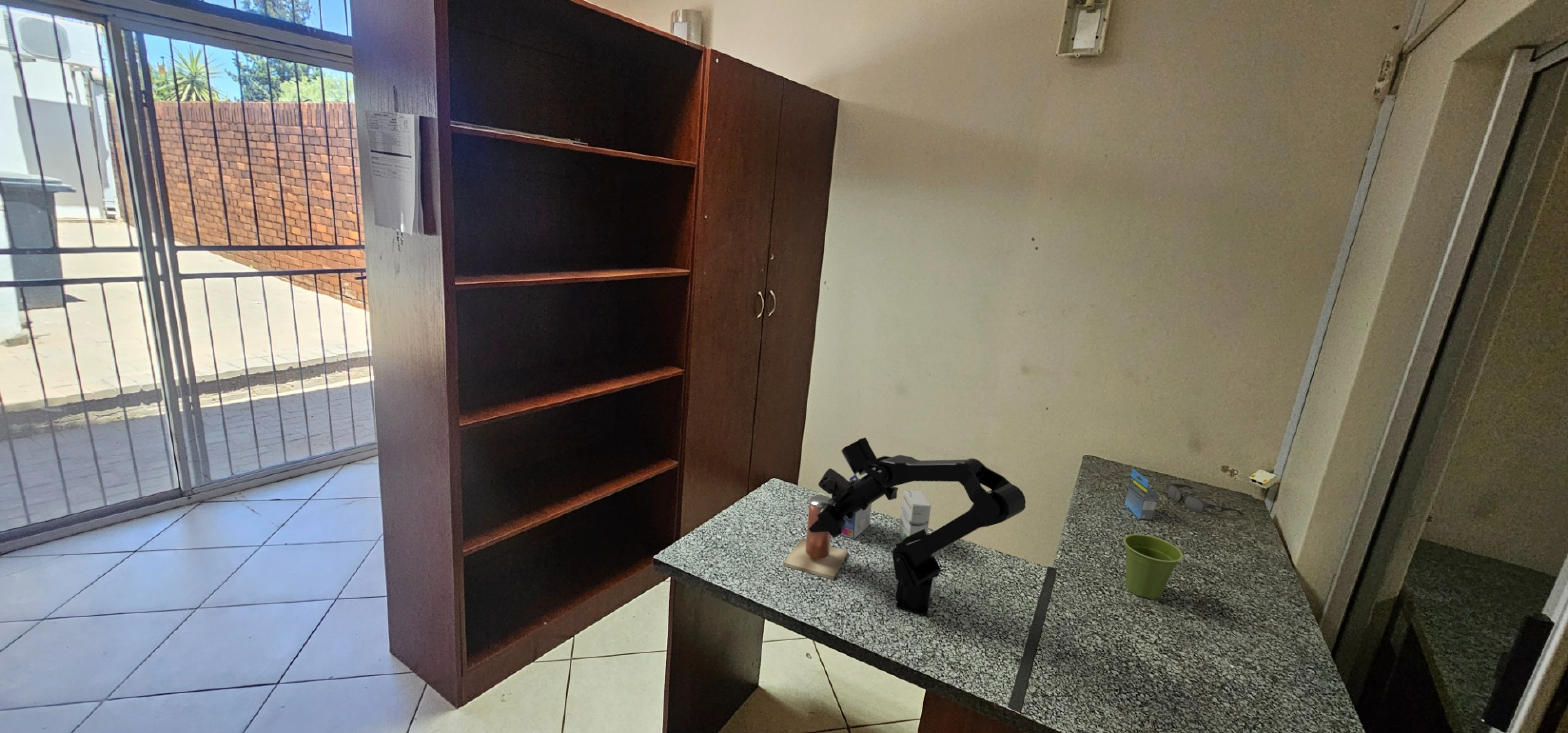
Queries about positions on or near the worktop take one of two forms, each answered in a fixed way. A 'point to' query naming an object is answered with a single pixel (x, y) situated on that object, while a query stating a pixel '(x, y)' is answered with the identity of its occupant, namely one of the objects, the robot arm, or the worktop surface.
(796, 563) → the coaster
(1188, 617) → the worktop surface
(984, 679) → the worktop surface
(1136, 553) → the plant pot
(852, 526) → the ink cartridge box
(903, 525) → the ink box
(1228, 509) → the sunglasses
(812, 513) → the tin
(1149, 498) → the label tape cartridge
